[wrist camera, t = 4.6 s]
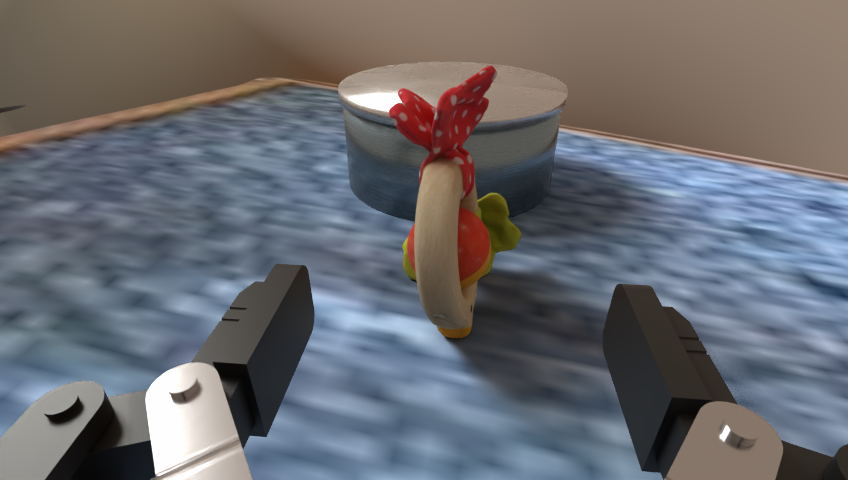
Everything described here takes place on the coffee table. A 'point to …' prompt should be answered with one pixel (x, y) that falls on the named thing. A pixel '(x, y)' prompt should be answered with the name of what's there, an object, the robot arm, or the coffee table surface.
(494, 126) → the biscuit tin
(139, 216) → the coffee table surface
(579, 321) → the coffee table surface
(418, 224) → the bird rattle
